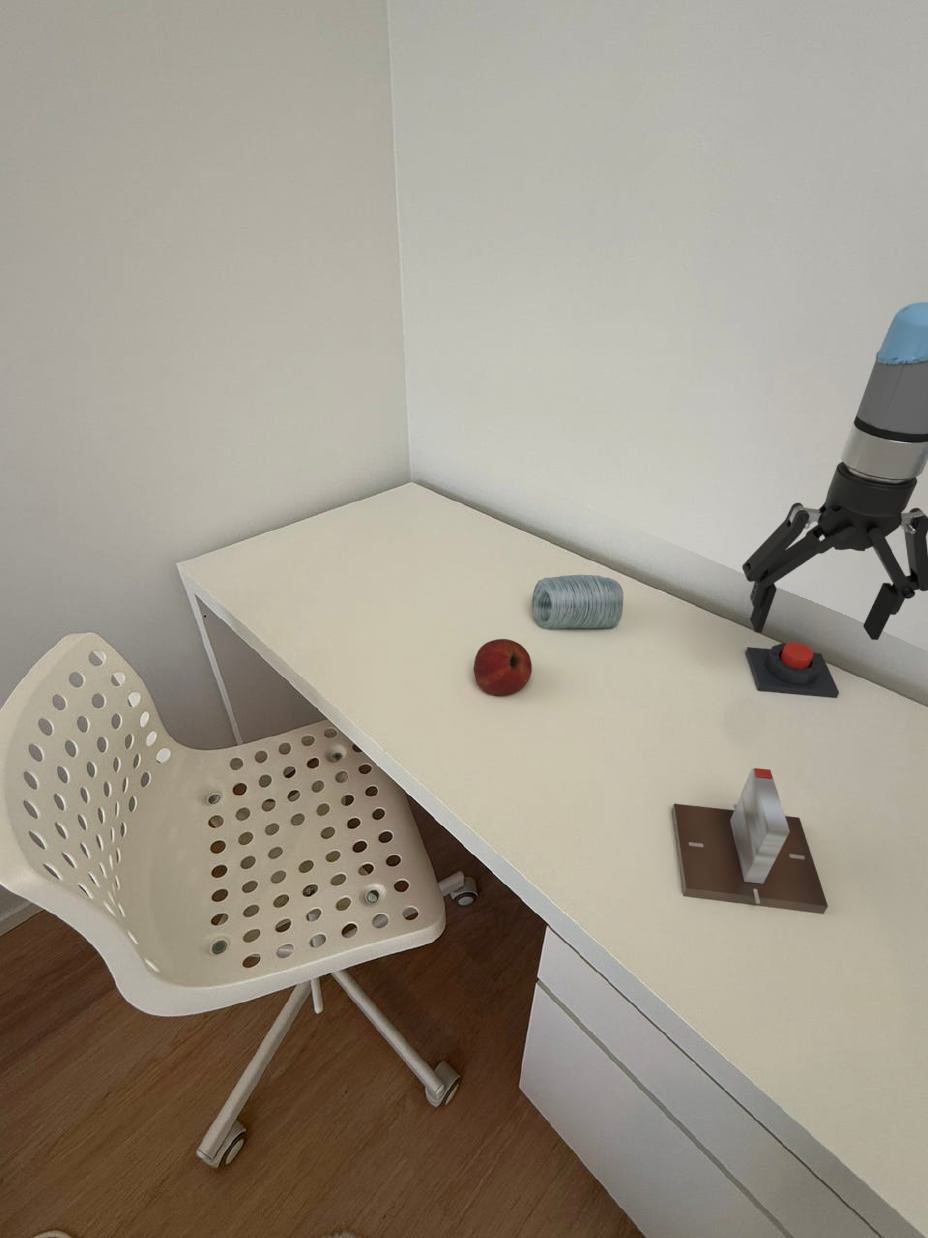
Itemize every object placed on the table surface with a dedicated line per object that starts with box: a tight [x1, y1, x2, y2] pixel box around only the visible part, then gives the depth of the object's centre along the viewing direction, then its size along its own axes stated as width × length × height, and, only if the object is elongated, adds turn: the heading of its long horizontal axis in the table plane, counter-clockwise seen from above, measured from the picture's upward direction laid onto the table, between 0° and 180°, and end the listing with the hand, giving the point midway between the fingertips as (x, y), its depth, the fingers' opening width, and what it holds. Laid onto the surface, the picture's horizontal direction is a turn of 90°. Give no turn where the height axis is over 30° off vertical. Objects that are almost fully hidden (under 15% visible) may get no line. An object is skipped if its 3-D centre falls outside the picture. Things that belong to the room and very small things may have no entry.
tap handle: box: [730, 767, 790, 884], centre depth 63 cm, size 7×2×9 cm, turn 173°
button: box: [781, 642, 814, 669], centre depth 86 cm, size 4×4×2 cm
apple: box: [473, 638, 533, 697], centre depth 86 cm, size 7×8×8 cm
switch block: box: [745, 642, 840, 699], centre depth 88 cm, size 10×8×4 cm
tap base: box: [671, 803, 829, 915], centre depth 66 cm, size 13×11×3 cm
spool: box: [531, 574, 624, 630], centre depth 97 cm, size 14×10×10 cm
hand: (812, 629), depth 80 cm, fingers open, 13 cm apart
